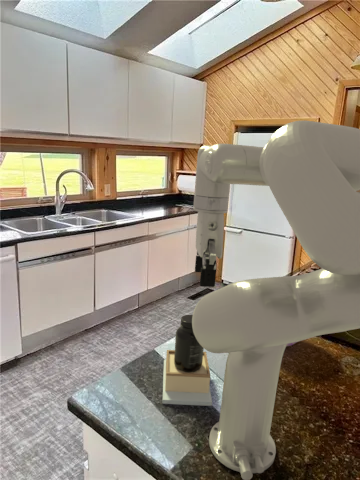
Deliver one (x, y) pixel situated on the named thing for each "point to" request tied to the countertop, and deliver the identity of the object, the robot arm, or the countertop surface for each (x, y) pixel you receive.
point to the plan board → (185, 396)
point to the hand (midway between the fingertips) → (204, 278)
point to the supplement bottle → (187, 347)
